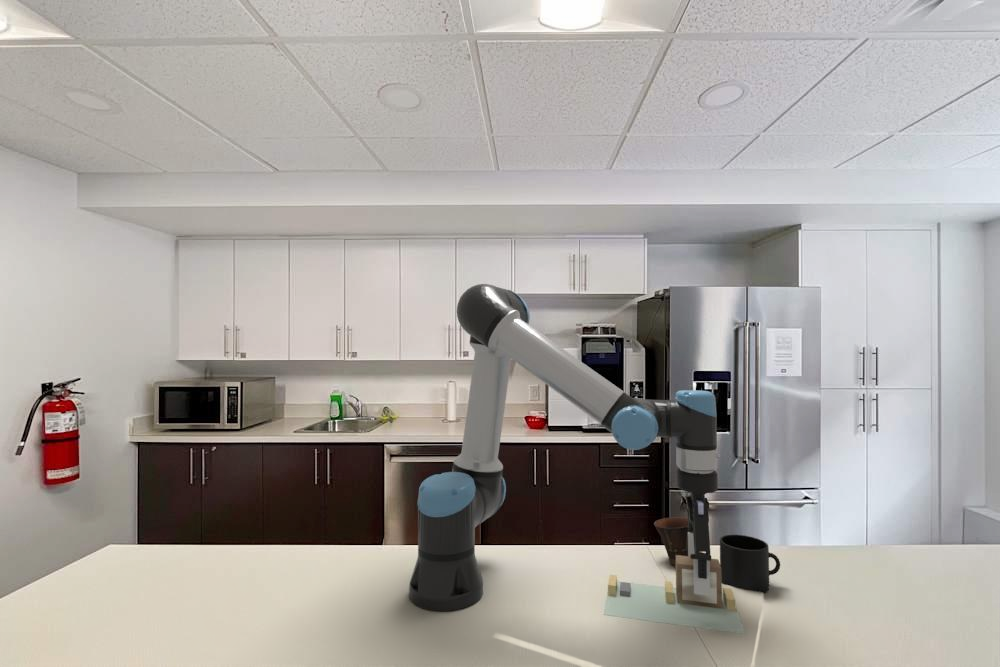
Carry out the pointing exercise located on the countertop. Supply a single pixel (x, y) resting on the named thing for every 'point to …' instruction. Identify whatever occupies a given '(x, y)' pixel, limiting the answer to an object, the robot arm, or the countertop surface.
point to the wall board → (669, 606)
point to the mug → (746, 562)
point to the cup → (674, 536)
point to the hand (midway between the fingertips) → (698, 578)
